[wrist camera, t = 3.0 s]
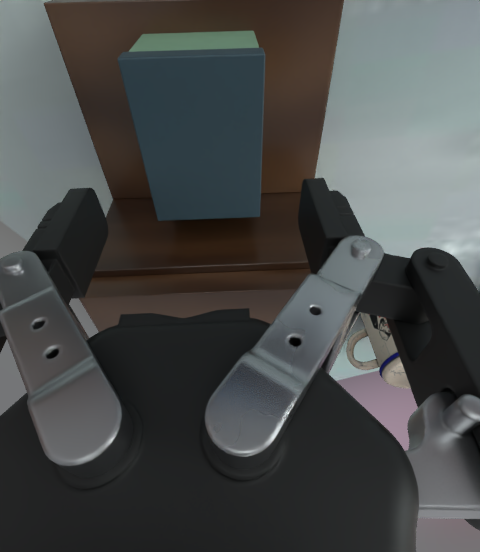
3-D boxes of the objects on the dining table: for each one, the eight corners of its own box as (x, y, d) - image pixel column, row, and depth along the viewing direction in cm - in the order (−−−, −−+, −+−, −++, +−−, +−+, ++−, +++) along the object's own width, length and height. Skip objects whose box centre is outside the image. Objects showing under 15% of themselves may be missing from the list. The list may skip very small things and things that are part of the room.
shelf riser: (76, -10, 18) (-74, 46, 9) (322, -17, 18) (424, 31, 9) (156, 265, 34) (132, 388, 25) (287, 260, 34) (312, 380, 25)
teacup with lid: (428, 268, 36) (487, 362, 28) (436, 310, 42) (487, 398, 34) (326, 304, 40) (352, 395, 32) (346, 337, 46) (373, 422, 38)
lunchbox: (139, 31, 16) (116, 57, 12) (256, 27, 16) (265, 53, 12) (167, 175, 21) (157, 221, 18) (253, 172, 21) (260, 217, 18)
